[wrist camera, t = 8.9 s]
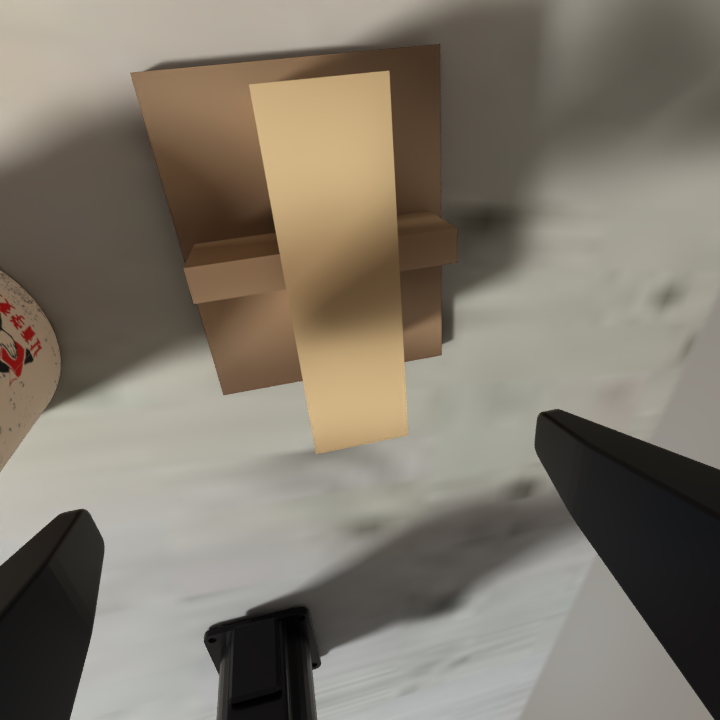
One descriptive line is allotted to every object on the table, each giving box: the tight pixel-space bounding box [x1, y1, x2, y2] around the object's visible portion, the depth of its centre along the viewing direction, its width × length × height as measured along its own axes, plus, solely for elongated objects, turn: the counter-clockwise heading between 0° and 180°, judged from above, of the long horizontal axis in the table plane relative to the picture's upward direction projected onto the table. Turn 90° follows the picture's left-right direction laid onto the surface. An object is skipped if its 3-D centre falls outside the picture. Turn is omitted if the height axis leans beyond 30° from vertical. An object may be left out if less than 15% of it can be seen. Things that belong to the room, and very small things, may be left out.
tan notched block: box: [249, 71, 408, 454], centre depth 15 cm, size 10×3×6 cm, turn 5°
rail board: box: [130, 44, 458, 395], centre depth 17 cm, size 12×10×4 cm
